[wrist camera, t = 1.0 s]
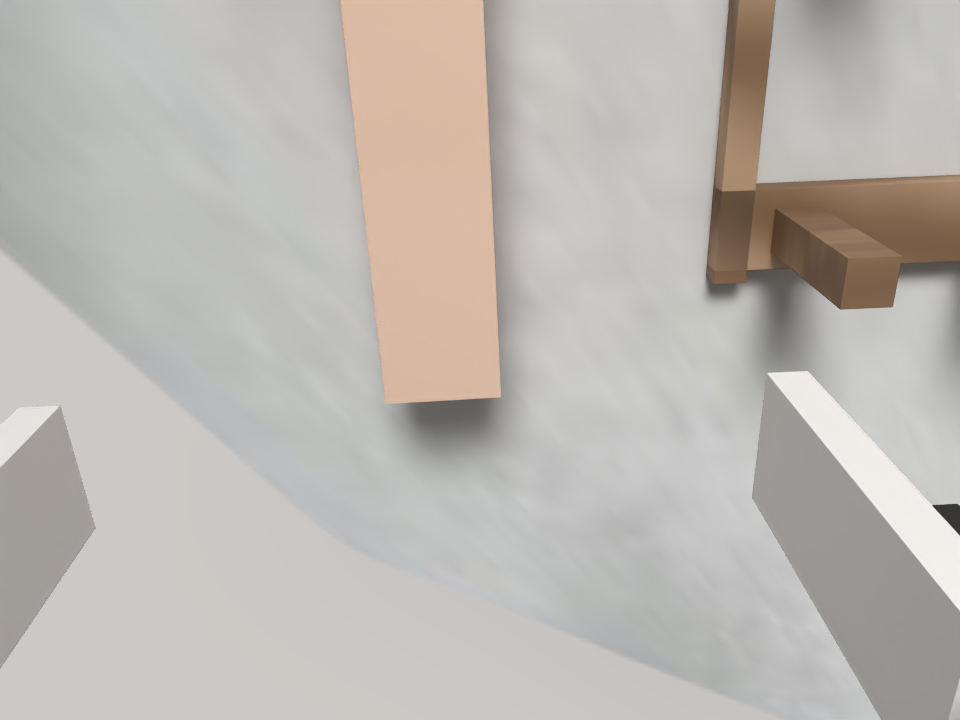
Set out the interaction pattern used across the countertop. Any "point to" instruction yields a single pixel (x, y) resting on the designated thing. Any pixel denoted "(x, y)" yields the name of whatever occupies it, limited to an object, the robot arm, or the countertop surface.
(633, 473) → the countertop surface
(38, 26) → the countertop surface
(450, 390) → the clay strip
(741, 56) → the rack
